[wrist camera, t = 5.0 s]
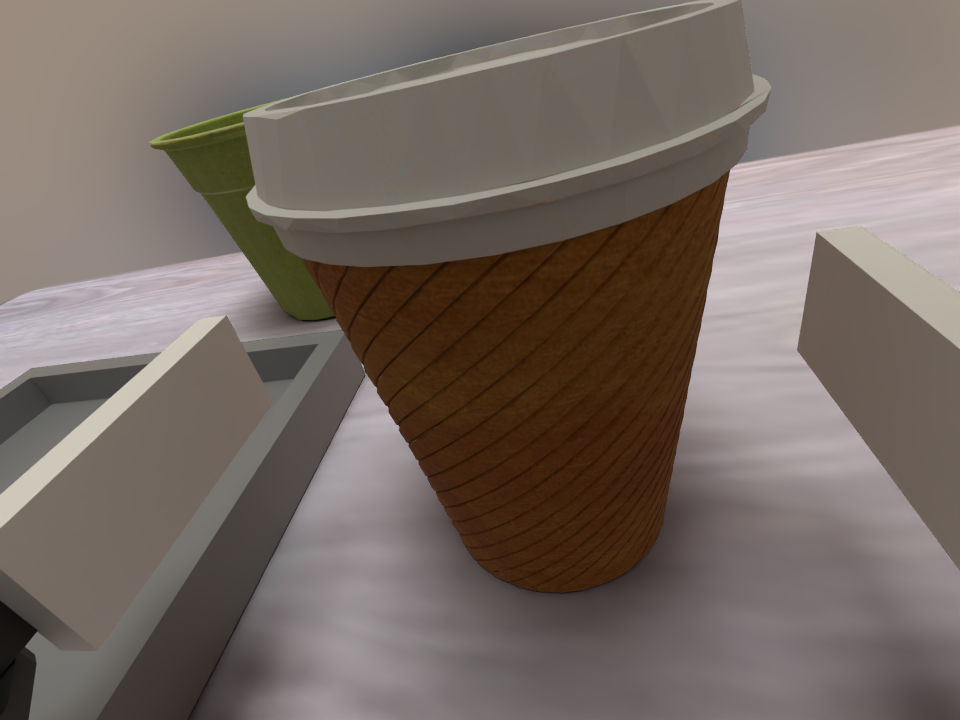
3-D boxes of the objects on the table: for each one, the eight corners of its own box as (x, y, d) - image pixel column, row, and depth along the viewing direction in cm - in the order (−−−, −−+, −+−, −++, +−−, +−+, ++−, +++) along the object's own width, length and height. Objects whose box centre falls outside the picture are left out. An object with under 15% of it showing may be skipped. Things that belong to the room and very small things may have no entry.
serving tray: (365, 374, 24) (347, 329, 23) (142, 807, 11) (69, 761, 10) (61, 405, 28) (31, 368, 26) (-375, 755, 15) (-480, 718, 13)
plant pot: (245, 296, 36) (161, 129, 30) (400, 244, 39) (351, 81, 33) (249, 371, 27) (127, 149, 21) (453, 294, 30) (398, 78, 23)
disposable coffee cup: (352, 516, 17) (155, 131, 10) (546, 372, 21) (493, 42, 15) (578, 764, 10) (417, 109, 4) (791, 478, 15) (888, -43, 8)
